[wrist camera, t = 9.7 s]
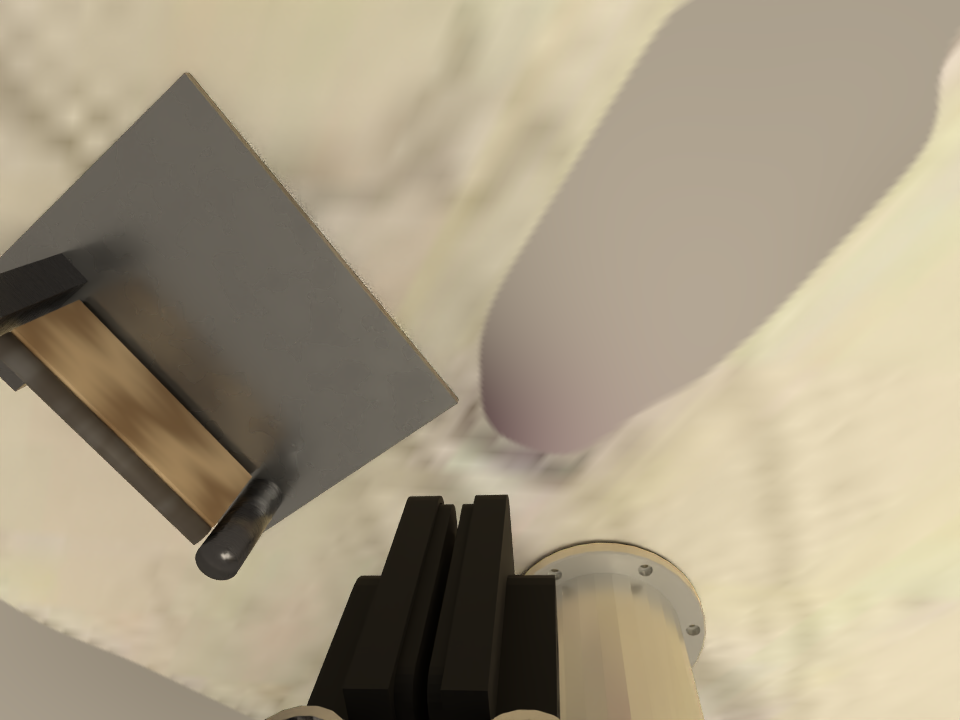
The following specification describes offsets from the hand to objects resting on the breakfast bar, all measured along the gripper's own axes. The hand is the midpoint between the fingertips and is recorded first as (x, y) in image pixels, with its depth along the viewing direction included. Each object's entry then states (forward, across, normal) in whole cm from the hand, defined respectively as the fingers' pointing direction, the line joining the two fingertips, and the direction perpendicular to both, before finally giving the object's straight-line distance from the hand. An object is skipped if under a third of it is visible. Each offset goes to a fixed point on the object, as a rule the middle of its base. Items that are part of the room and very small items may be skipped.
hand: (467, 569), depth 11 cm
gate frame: (+26, +18, +4) cm, 32 cm away
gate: (+25, +22, +8) cm, 34 cm away
